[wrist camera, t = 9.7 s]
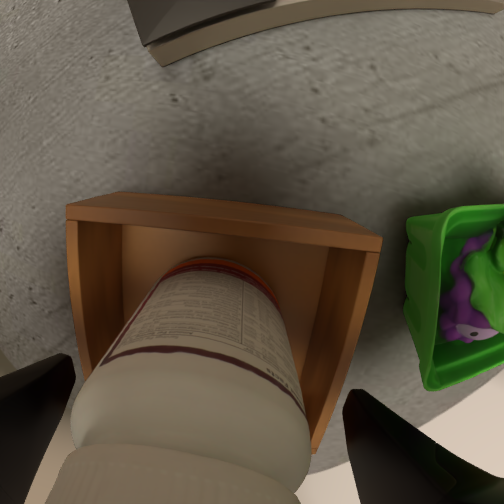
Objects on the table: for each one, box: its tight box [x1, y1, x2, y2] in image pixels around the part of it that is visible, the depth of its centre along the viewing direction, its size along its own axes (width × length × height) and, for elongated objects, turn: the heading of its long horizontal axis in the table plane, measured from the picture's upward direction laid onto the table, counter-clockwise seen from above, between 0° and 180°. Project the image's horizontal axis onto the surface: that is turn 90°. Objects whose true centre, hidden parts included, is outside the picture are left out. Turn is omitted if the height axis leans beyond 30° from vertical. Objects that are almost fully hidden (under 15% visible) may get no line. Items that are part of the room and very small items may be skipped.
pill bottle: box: [45, 257, 311, 504], centre depth 8 cm, size 6×6×11 cm
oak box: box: [66, 192, 383, 454], centre depth 12 cm, size 10×10×4 cm
